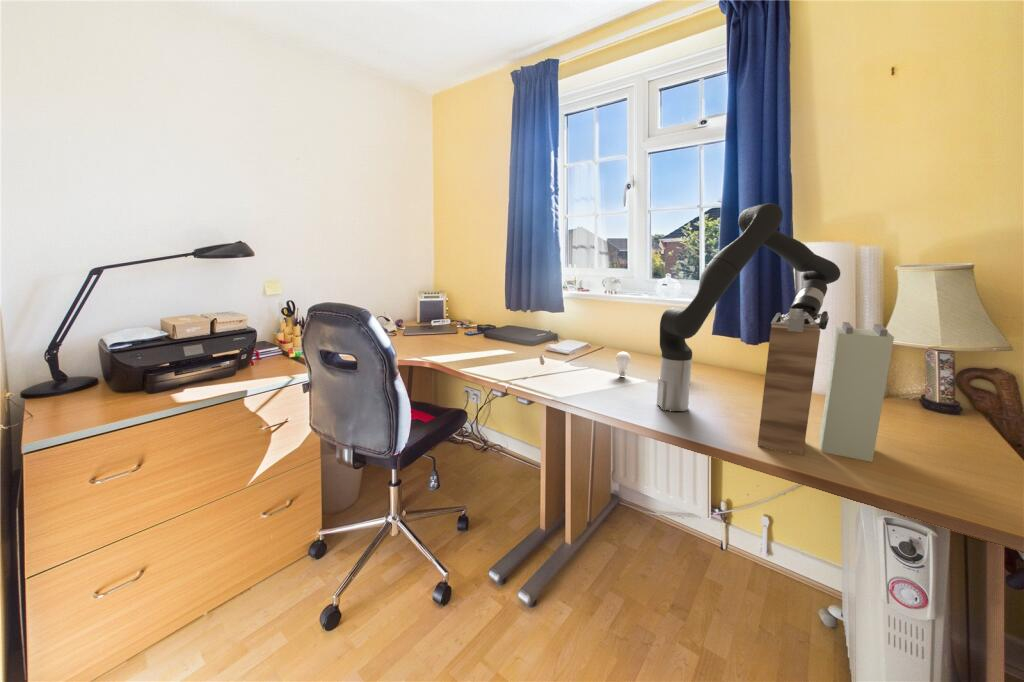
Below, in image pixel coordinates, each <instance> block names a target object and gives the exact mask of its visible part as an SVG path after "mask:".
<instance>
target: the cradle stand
mask: <svg viewBox="0 0 1024 682" xmlns="http://www.w3.org/2000/svg"><path fill="white" fill-rule="evenodd" d="M894 339H895V337H894V336H893V335H892V334H891V333H890V332H889V331H888V329H887V328H885V326H883V325H882V324H880V323H873V329H867V328H866V329H865V328H854V327H853V325H852V324H851V323H850V322H849V321H848V322H847V321H843V322H842V326H841V327H838V326H836V327H835V329H834V336H833V344H832V352H831V356H830V357H831V358H830V363H829V369H828V370H829V371H828V379H827V385H826V392H825V400H824V406H823V414H822V419H821V426H820V432H819V443H820V451H821V453H826V454H831V455H835V456H840V457H846V458H852V459H857V460H861V461H867V462H871V463H872V462H873V458H874V456H875V455H874V454H875V449H876V444H877V438H878V432H879V426H880V420H881V416H882V415H881V413H882V409H883V403H884V397H885V393H886V392H885V391H886V385H887V381H888V380H887V379H888V376H889V368H890V362H891V357H892V350H893V346H894Z"/></svg>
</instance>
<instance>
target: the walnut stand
mask: <svg viewBox="0 0 1024 682" xmlns="http://www.w3.org/2000/svg"><path fill="white" fill-rule="evenodd" d="M820 336H821V329H820V328H819V325H812V324H804V327H803V332H795V331H788V323H782V322H773V323H772V326H771V325H770V333H769V342H768V352H767V360H766V366H765V367H766V368H765V376H764V385H763V392H762V393H763V395H762V402H761V403H762V405H761V411H760V413H761V414H760V420H759V429H758V437H757V438H758V439H757V445H758V446H757V447H759V446H763V447H762V448H764V447H767V448H766V449H769V448H772V449H771V450H774V449H776V450H775V451H779V450H781V451H780V452H783V451H785V452H784V453H788V452H791V453H790V454H793V453H794V455H798V454H799V455H798V456H804V452H805V445H806V436H807V429H808V425H809V424H808V423H809V415H810V408H811V401H812V394H813V386H814V380H815V372H816V366H817V358H818V350H819V343H820V338H821V337H820Z"/></svg>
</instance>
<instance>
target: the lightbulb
mask: <svg viewBox="0 0 1024 682" xmlns="http://www.w3.org/2000/svg"><path fill="white" fill-rule="evenodd" d="M631 360H632V357H631V355H630V354H629V353H628V352H626V351H620V352H618V353H617V354H616V355H615V357H614V362H615V364H616V365H617V368H618V376H619V375H620V376H625V375H626V373H627V369H628V367H629V365H630V364H631V363H632V361H631ZM620 376H619V377H620ZM625 377H626V376H625Z"/></svg>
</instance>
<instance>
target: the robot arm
mask: <svg viewBox="0 0 1024 682" xmlns="http://www.w3.org/2000/svg"><path fill="white" fill-rule="evenodd" d="M782 220H783V209H782V207H781V206H779V205H778V204H776V203H772V202H771V203H770V202H769V203H763V204H757V205H754V206H750V207H748V208H745V209H744V210H743V211H741V213H740V214H739V216H738V223H737V224H738V228H739V230H741V232H742V234H741V235H739V236H738V237H737V238H736V239H735V240H734V241H731V243H729V244H728V245H726V246H725V247H724V248H722V249H721V250H720V251H719V252H718V253H716V254H715V255H714V256H713V258H712V259H711V260H710V261H709V262H708V264H707V265H706V266H705V268H703V271H702V273H701V276H700V279H699V285H698V289H697V290H698V291H697V293H696V295H695V296H694V298H693V299H692V301H690V303H689V304H688V305H687V306H686V307H685V308H681V307H669V308H667V309H666V310H665V311H664V312H663V313H662V315H661V318H660V323H659V348H660V350H661V359H660V361H661V362H660V373H659V375H660V376H659V377H658V379H657V393H656V405H657V404H658V405H659V406H660V407H661V409H666V410H671V411H684V412H686V411H685V410H687V409H688V410H689V403H690V402H689V400H690V386H691V375H692V362H693V350H692V348H691V347H690V346H689V345H688V344H687V342H686V340H687V339H690V338H692V337H694V336H695V335H696V334H697V333H698V332H699V331H700V329H702V327H703V324H704V323H705V321H706V319H708V317H709V315H710V313H711V311H712V310H713V308H714V306H715V305H716V304H717V303H718V301H719V300H720V299H721V298H722V296H723V295H724V293H725V292H726V290H727V289H728V288H729V287H730V286H731V284H732V283H733V282H734V281H735V279H736V278H737V277H738V276H739V275H740V273H741V271H742V270H743V269H744V267H745V266H746V265H747V264H748V263H749V261H750V260H751V258H752V257H753V256H754V255H755V253H756V252H757V251H758V250H759V249H760V248H761V247H762V246H764V247H766V248H768V249H769V250H771V251H772V252H774V253H775V254H776V255H778V256H779V257H780V258H782V259H783V260H784V261H785V262H786V263H787V264H789V265H790V266H791V267H792V268H793V269H795V271H797V272H799V273H802V274H801V276H800V277H801V278H800V279H801V287H800V289H799V292H798V293H797V294H796V295H795V298H794V299H793V302H792V304H791V306H790V308H792V309H803V313H804V324H812V325H819V328H820V330H826V329H827V326H828V322H829V319H830V317H829V312H828V311H827V310H826V311H822V313H820V310H821V308H822V307H823V303H824V299H825V296H826V294H827V292H828V285H829V284H833V283H835V282H836V281H838V280H839V279H840V278H841V269H840V268H839V266H838V265H837V264H836V263H835V262H833V261H832V260H829V259H827V258H824V257H822V256H820V255H818V254H816V253H814V252H813V250H811V249H810V248H809V247H808V246H807V245H806V244H804V243H803V242H801V241H799V240H798V239H796V238H793V237H792V236H791V237H790V235H787V234H784V233H782V232H781V231H779V230H778V228H779V227H780V225H781V223H782V222H783V221H782ZM818 319H819V320H820V321H819V322H816V320H818ZM788 320H789V312H788V313H786V314H781V312H777V313H776V314H775V316H774V317H773V318H772V320H771V321H770V324H771V325H770V327H771V326H772V323H773V322H782V323H788ZM658 405H657V406H658ZM659 406H658V407H659ZM660 407H659V408H660ZM666 410H665V411H666ZM688 410H687V411H688ZM671 411H670V412H671Z"/></svg>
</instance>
